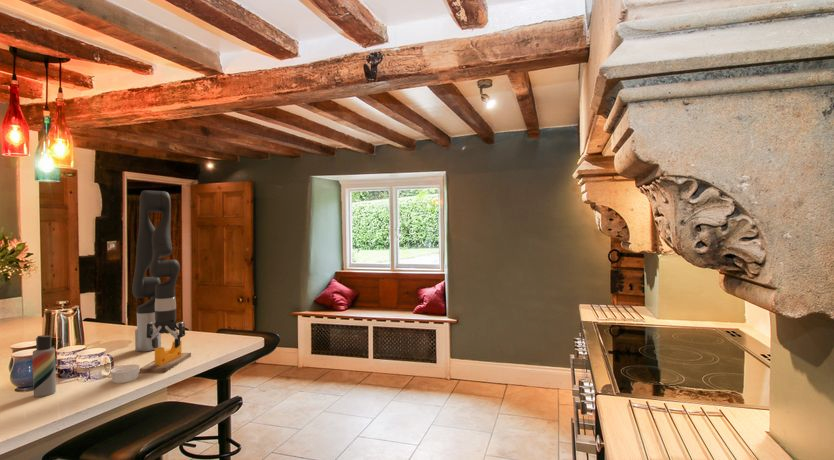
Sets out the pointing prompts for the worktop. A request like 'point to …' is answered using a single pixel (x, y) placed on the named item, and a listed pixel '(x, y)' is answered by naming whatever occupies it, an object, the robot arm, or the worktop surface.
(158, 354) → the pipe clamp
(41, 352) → the lotion bottle
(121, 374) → the ramekin
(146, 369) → the bolt plate
